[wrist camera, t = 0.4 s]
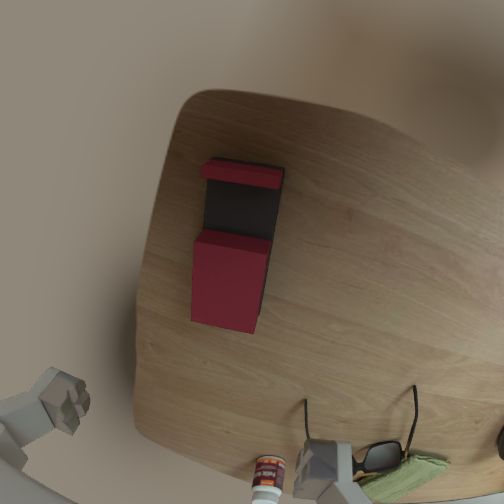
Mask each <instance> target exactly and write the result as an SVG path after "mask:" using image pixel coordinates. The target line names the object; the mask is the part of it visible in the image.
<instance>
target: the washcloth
mask: <svg viewBox="0 0 504 504" xmlns="http://www.w3.org/2000/svg"><path fill="white" fill-rule="evenodd" d="M449 465H450V462H449V461H448V462H447V461H446V460H440V459H437V458H434V457H427V456H419V455H417V454H415V455H409V454H407V457H406V459H405V460H402V462H401V465H400V466H399V467H398V468H397V469H394V470H391V471H387V472H383V473H378V474H373V475H368V476H367V477H364V478H363V479H361V480H359V481H358V482H357V483H358V485H359V486H360V487H361V489H362V490H363V491H364V492H365V494H366V495H367V496H368V498H369V499H370V500H375V501H376V502H382V503H391V502H393V501H395V500H397V499H398V498H399V497H401V496H403V495H406V494H408V493H410V492H411V491H413V490H415V489H417V488H418V487H420V486H421V485H423V484H425V483H426V482H428V481H430V480H432V479H434V478H436V477H437V476H439V475H441V474H442V473H443V472H444V471H445V470H446V469H447V468H448V467H449Z"/></svg>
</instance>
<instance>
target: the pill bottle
mask: <svg viewBox="0 0 504 504" xmlns="http://www.w3.org/2000/svg"><path fill="white" fill-rule="evenodd" d="M284 472H285V461H284V460H283V459H281V458H279V457H276V456H263V457H260V458H259V459H258V460H257V464H256V469H255V474H254V479H253V484H252V492H253V496H252V504H278V500H279V496H280V495H281V493H282V487H283V480H284Z"/></svg>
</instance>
